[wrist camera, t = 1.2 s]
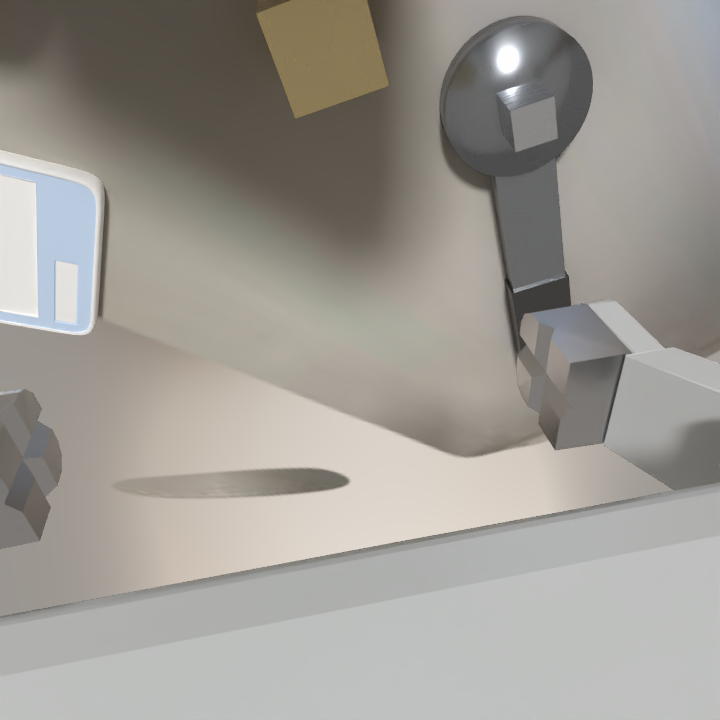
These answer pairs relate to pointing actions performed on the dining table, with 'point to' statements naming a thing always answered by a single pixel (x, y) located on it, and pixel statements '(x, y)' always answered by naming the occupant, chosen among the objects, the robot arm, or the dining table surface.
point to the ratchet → (520, 143)
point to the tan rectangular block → (322, 50)
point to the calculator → (49, 245)
